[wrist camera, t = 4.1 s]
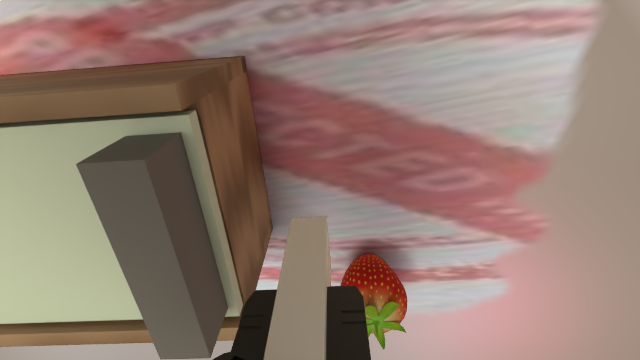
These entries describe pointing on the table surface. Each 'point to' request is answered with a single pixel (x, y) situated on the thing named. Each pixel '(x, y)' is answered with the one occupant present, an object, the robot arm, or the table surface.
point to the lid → (115, 228)
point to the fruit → (378, 294)
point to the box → (220, 144)
